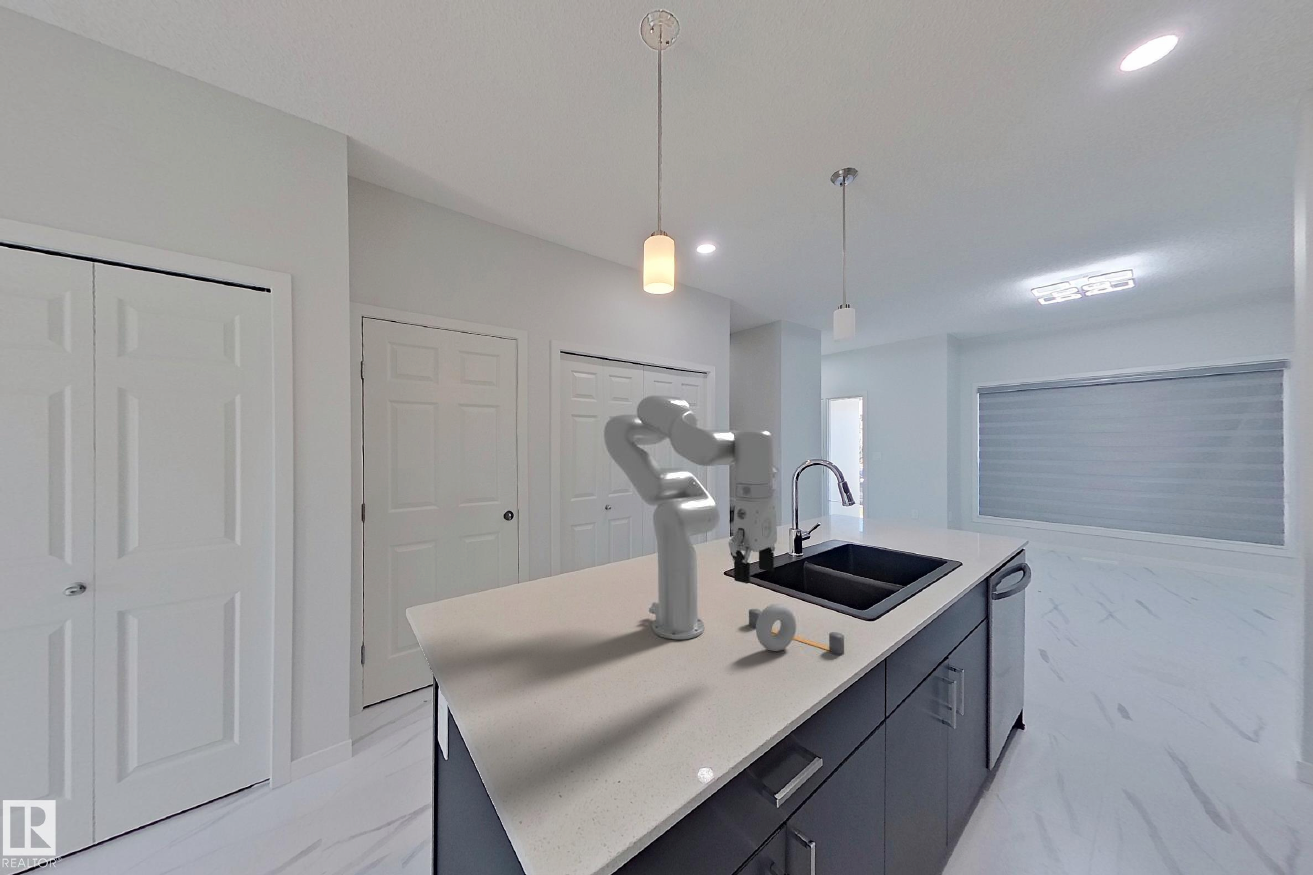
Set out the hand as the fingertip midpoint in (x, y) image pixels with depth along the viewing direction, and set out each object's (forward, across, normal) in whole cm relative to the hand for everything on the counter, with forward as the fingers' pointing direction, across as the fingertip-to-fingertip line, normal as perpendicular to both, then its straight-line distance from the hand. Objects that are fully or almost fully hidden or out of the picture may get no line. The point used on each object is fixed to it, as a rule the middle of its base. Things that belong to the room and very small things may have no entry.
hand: (754, 575), depth 90 cm
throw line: (+18, +17, 0) cm, 25 cm away
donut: (+19, +9, 0) cm, 21 cm away
